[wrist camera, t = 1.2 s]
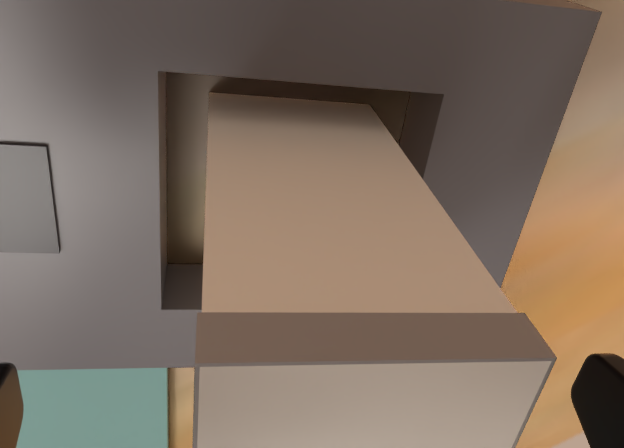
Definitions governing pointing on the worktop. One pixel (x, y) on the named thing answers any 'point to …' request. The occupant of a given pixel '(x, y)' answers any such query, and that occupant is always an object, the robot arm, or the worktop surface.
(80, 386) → the teal mat
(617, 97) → the worktop surface
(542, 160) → the grey panel
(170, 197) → the worktop surface
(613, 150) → the worktop surface
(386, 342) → the beige grey rectangular block
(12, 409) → the robot arm
